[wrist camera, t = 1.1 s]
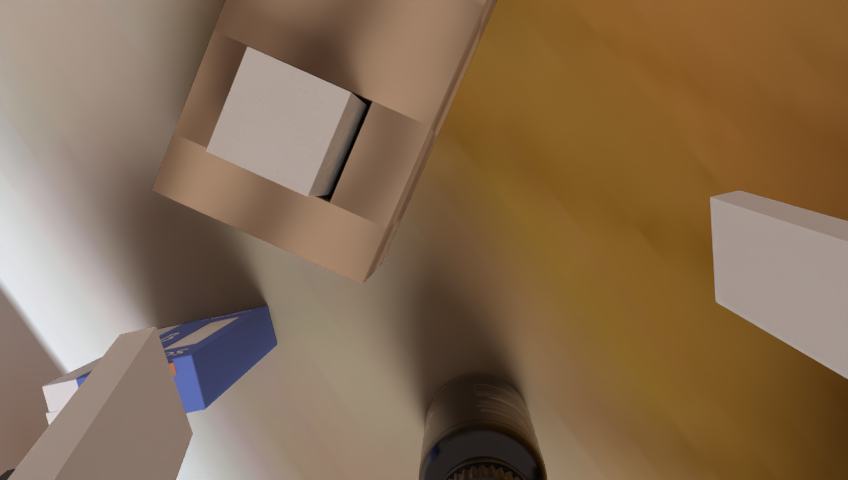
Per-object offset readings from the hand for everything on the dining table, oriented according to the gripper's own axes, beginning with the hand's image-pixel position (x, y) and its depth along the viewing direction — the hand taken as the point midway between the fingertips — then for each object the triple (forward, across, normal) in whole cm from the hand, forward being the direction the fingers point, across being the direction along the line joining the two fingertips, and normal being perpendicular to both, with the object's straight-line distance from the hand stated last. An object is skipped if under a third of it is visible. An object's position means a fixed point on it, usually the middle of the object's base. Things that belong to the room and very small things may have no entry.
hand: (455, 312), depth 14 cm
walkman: (+26, +12, +10) cm, 31 cm away
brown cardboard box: (+27, -1, -6) cm, 28 cm away
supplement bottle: (+22, -3, +18) cm, 28 cm away
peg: (+23, +3, -2) cm, 23 cm away
